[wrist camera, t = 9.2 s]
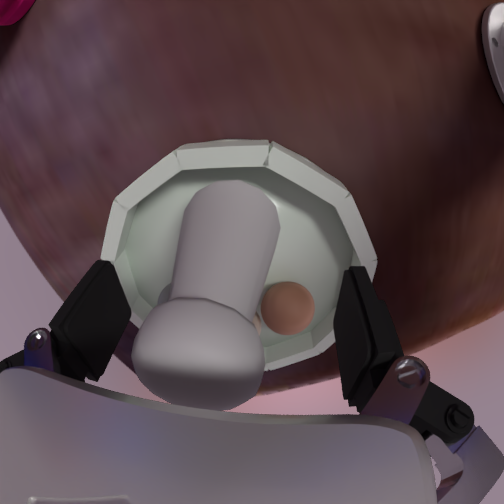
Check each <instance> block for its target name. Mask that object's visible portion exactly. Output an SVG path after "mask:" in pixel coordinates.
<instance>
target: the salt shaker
mask: <svg viewBox="0 0 504 504" xmlns="http://www.w3.org/2000/svg"><path fill="white" fill-rule="evenodd" d="M280 229H281V227H280V222H279V218H278V213H277V209H276V206H275V204H274V203H273V202H272V201H271V200H270V199H269V198H268V197H267V196H266V195H265V194H264V193H263V191H262V190H261V189H260V188H257V187H255V186H253V185H251V184H248V183H246V182H244V181H241V180H222V181H216V182H214V183H212V184H210V185H208V186H206V187H204V188H202V189H200V190H199V191H197V192H196V193H195V194H194V196H193V197H192V199H191V200H190V202H189V204H188V205H187V207H186V208H185V210H184V214H183V219H182V224H181V230H180V235H179V240H178V246H177V252H176V257H175V263H174V269H173V276H172V282H171V288H170V293H169V299H168V301H167V302H164V303H161V304H159V305H156V306H155V307H154V308H153V309H152V310H151V311H150V312H149V314H148V316H147V317H146V319H145V320H144V322H143V324H142V325H141V327H140V329H139V331H138V333H137V335H136V337H135V339H134V344H133V349H132V354H131V358H132V362H133V366H134V370H135V372H136V374H137V376H138V378H139V380H140V381H141V382H142V383H143V384H144V385H145V386H146V387H147V388H148V389H149V390H150V391H151V392H152V393H153V394H155V395H156V396H158V397H160V398H162V399H163V400H165V401H167V402H169V403H171V404H174V405H179V406H186V407H192V408H199V409H207V410H215V411H223V410H230V409H232V408H234V407H237V406H239V405H241V404H242V403H244V402H246V401H248V400H249V399H251V398H252V397H254V396H255V395H256V393H257V391H258V388H259V386H260V384H261V380H262V376H263V372H264V368H265V354H264V348H263V345H262V342H261V340H260V337H259V334H258V332H257V329H256V327H255V325H254V324H253V323H252V321H253V318H254V315H255V312H256V309H257V306H258V303H259V300H260V296H261V293H262V290H263V287H264V284H265V281H266V278H267V274H268V271H269V268H270V265H271V262H272V258H273V255H274V252H275V249H276V245H277V241H278V237H279V233H280Z"/></svg>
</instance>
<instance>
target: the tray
mask: <svg viewBox="0 0 504 504" xmlns="http://www.w3.org/2000/svg"><path fill="white" fill-rule="evenodd" d="M222 180H241V181H244V182H246V183H248V184H251V185H253V186H255V187H257V188H260V189H261V190H262V191H263V193H264V194H265V195H266V196H267V197H268V198H269V199H270V200H271V201H272V202H273V203H274V204H275V206H276V209H277V213H278V218H279V222H280V227H281V229H280V233H279V237H278V241H277V245H276V249H275V252H274V255H273V258H272V262H271V265H270V268H269V271H268V274H267V278H266V281H265V284H264V287H263V290H262V293H261V296H260V300H259V303H258V306H257V309H256V311H257V313H258V314H259V316H260V319H261V325H262V327H261V333H260V336H259V337H260V340H261V342H262V345H263V348H264V354H265V368H264V371H268V369H269V370H270V371H271V370H274V369H277V368H280V367H284V366H287V365H290V364H293V363H296V362H299V361H302V360H305V359H308V358H311V357H313V356H316V355H319V354H320V352H322V353H323V352H324V351H325V350H326V349H327V348H329V347H330V346H331V345H332V344H333V343H334V342H335V335H334V329H333V319H334V315H335V311H336V306H337V302H338V298H339V293H340V288H341V284H342V279H343V274H344V271H345V270H349V267H350V266H365V268H366V270H367V272H368V275H369V277H370V280H371V282H372V281H373V277H374V273H375V270H376V266H377V262H378V261H377V260H376V259H377V256H376V253H375V251H374V248H373V245H372V243H371V240H370V238H369V235H368V233H367V230H366V228H365V225H364V223H363V220H362V218H361V216H360V213H359V211H358V209H357V206H356V204H355V202H354V199H353V197H352V195H351V194H350V193H349V191H348V190H347V189H346V187H345V186H344V185H343V184H342V183H341V182H340V181H339V180H337V179H336V178H334V177H333V176H331V175H329V174H328V173H326V172H325V171H323V170H322V169H321V168H320V167H318V166H317V165H315V164H314V163H313V162H311V161H310V160H308V159H307V158H305V157H303V156H301V155H299V154H297V153H295V152H293V151H291V150H289V149H287V148H284V147H282V146H281V145H279V144H277V143H275V142H273V141H272V142H271V143H268V140H250V139H221V140H213V141H207V142H203V143H191V144H185V145H183V146H180V147H179V148H177V149H176V150H174V151H173V152H171V153H170V154H169V155H167V156H166V157H165V158H163V159H162V160H161V161H159V162H158V163H157V164H156V165H154V166H153V167H152V168H150V169H149V170H148V171H147V172H145V173H144V174H143V175H142V176H141V177H139V178H138V179H137V180H136V181H134V182H133V183H132V184H131V185H130V186H129V187H127V188H126V189H125V190H124V191H123V192H122V193H120V194H119V195H118V196H117V197H116V198H115V200H114V201H113V204H112V208H111V212H110V216H109V220H108V225H107V229H106V234H105V238H104V243H103V248H102V254H101V259H102V260H108V261H110V262H111V264H113V265H114V267H115V269H116V272H117V275H118V277H119V280H120V283H121V285H122V288H123V291H124V293H125V296H126V298H127V301H128V303H129V305H130V308H131V312H132V314H131V318H130V321H131V322H132V323H133V324H134V325H135V326H137V327H138V328H139V329H140V327H141V325H142V324H143V322H144V320H145V319H146V317H147V316H148V314H149V312H150V311H151V310H152V309H153V308H154V307H155V306H156V305H157V302H158V298H159V295H160V293H161V291H162V290H163V289H164V288H165V287H166V286H167V285H168V284H170V283H171V282H172V276H173V269H174V263H175V257H176V252H177V246H178V240H179V235H180V230H181V224H182V219H183V214H184V210H185V208H186V207H187V205H188V204H189V202H190V200H191V199H192V197H193V196H194V194H195V193H196V192H197V191H199V190H200V189H202V188H204V187H206V186H208V185H210V184H212V183H214V182H216V181H222ZM287 281H290V282H295V283H298V284H301V285H302V286H304V287H305V288H306V289H307V290H308V291H309V292H310V293H311V295H312V297H313V300H314V304H315V312H314V316H313V319H312V321H311V323H310V324H309V325H308V326H307V328H305V329H304V330H303V331H301V332H299V333H297V334H294V335H281V334H278V333H275V332H274V331H272V330H271V329H269V328H268V326H267V325H266V324H265V322H264V321H263V318H262V315H261V302H262V299H263V297H264V295H265V293H266V292H267V291H268V290H269V289H270V288H271V287H272V286H274V285H276V284H278V283H280V282H287Z"/></svg>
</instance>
